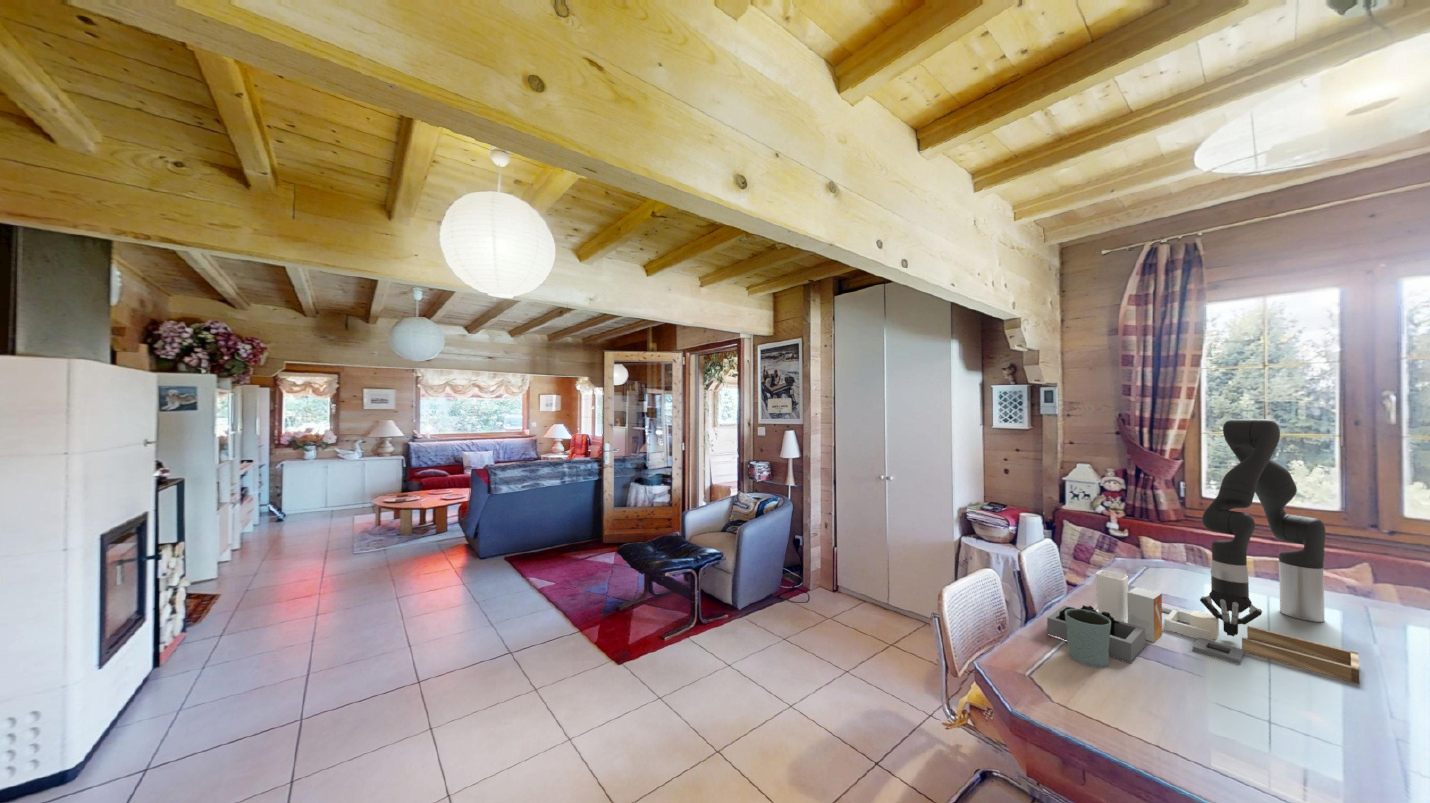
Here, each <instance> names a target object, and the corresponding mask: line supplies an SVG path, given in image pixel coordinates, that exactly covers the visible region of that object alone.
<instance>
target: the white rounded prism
mask: <svg viewBox="0 0 1430 803" xmlns="http://www.w3.org/2000/svg"><path fill="white" fill-rule="evenodd" d="M1128 592H1129V576H1128V575H1127V574H1125V573H1121V572H1116V571H1112V570H1107V569H1099V570H1098V571H1097V572H1095V594H1096V604H1097V610H1098V611H1097V612H1098V613H1102V612H1107V613H1108V612H1109V614H1110V616H1111V617H1113V618H1114V620H1118V621H1121V622H1125V621H1126V618H1127V614H1128V601H1127V593H1128Z"/></svg>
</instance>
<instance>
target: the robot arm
mask: <svg viewBox="0 0 1430 803" xmlns="http://www.w3.org/2000/svg"><path fill="white" fill-rule="evenodd" d="M1222 433H1223V437H1224V440H1225V442H1226V443H1227V445H1228V447H1229V448H1230V450H1231V451H1232V452H1233V454H1234V455H1235V457H1236V459H1237V460H1238V462H1239V463H1238V464H1237V465H1235V466H1234V467H1233V468H1231V469H1230V470H1228V472H1227V473H1226V474H1225V475H1224V476H1223V479H1222V481H1221V484H1220V488H1219V491H1218V494H1217V496H1216V497H1215V498H1214V499H1213V500H1212V502H1211V504H1209V506H1208V507H1207V508H1206V509H1205V511H1204V512H1203V514H1202V517H1201V518H1202V519H1201V521H1202V524H1203V526H1204V528H1206V529H1207V530H1208V531H1211V532H1216V533H1219V534H1220V533H1222V534H1227V535H1233V536H1234V537H1233V538H1232V540H1228V539H1227V540H1224V539H1217V540H1214V541H1212V543H1211V563H1210V577H1211V578H1210V582H1211V583H1210V584H1211V587H1210V589H1211V591H1210V592H1209V594H1208V595H1206V596H1201V598H1199V601H1200V602H1201V604H1202V605H1203V606H1204V607H1206V609H1207V610H1208V611H1209V612H1210V614H1211V615H1214V616H1215V617H1216V618H1219V620H1221V621H1222V624H1223V633H1226V635H1227V636H1230V637H1235V636H1237V635H1238V634H1239V625H1247V624H1249V623H1250V622H1252V621H1253V620H1255V619H1257V618H1258V617H1261V615H1262V614H1263V610H1262V609H1261V608H1257V607H1256V606H1254V604H1252V601H1251V599H1250V595H1249V594H1250V590H1249V588H1250V587H1249V579H1250V578H1249V571H1248V570H1249V569H1248V565H1247V564H1248V562H1247V553H1248V552H1247V551H1248V547H1249V543H1250V540H1251V539H1252V536H1253V533H1254V532H1255V528H1256V522H1255V519H1254V518H1253V517H1252V515H1250V514H1248V513H1247V512H1243V511H1235V510H1234V509H1246V508H1249V507H1251V505H1252V504H1253V501H1254V497H1255V494H1256V496H1257V498H1258V500H1259V503H1260V504H1261V506H1262V509H1263V511H1264V514H1265V517H1266V520H1267V523H1268V526H1269V529H1270V531H1271V533H1272V535H1273V536H1274V537H1275V538H1276V539H1278V540H1280V541H1283V542H1287V543H1291V544H1292V543H1293V544H1298V545H1303V549H1301V550H1296V551H1295V550H1294V551H1293V550H1292V551H1291V550H1290V551H1281V552H1279V554H1278V570H1279V571H1278V573H1279V577H1278V580H1279V612H1280V613H1282V614H1284V615H1286V616H1288V617H1292V618H1295V619H1299V620H1302V621H1303V620H1304V621H1309V622H1314V623H1315V622H1317V623H1321V622H1325V576H1324V572H1325V571H1324V570H1325V569H1324V561H1325V544H1326V528H1325V524H1324V522H1323V521H1322V520H1321V519H1319V518H1316V517H1310V516H1304V515H1295V514H1290V513H1287V512H1286V511H1285V509H1284V508H1285V507H1286V505H1287V504H1289V503H1290V502H1291V501H1292V500H1293V499H1294V498H1295V496H1296V494H1297V492H1298V489H1297V485H1296V482H1295V481H1294V479H1293V477H1292V475H1291V473H1290V472H1289V470H1287V468H1285V467H1284V466H1283V465H1281V464H1280V463H1278V462H1276V461H1274V460H1273V459H1271V458H1272V456H1273V454H1274V452H1275V450H1276V448H1277V447H1278V445H1279V441H1280V438H1281V430H1280V427H1279V425H1278V423H1277V422H1276V421H1275V420H1272V419H1265V418H1250V419H1249V418H1246V419H1245V418H1235V419H1229V420H1227V421H1226V422H1224V424H1223V427H1222ZM1213 603H1214V604H1216V606H1217V607H1218V608H1219V609H1220V610H1221V612H1220V611H1219V610H1218V609H1217V608H1216V607H1215V605H1214V604H1213ZM1247 609H1248V614H1246V615H1245V616H1243V617H1241V618H1240V617H1239V616H1240V614H1241V613H1243V612H1244V611H1246V610H1247ZM1230 612H1231V617H1230ZM1230 618H1231V619H1230Z"/></svg>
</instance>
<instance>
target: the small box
mask: <svg viewBox="0 0 1430 803" xmlns="http://www.w3.org/2000/svg"><path fill="white" fill-rule="evenodd" d="M1162 594H1163V593H1162V592H1159V591H1154V590H1150V589H1146V588H1142V587H1138V586H1135V587H1133V588H1131V589H1130V590H1128V593H1127V601H1128V605H1127V623H1128V624H1132V625H1135V626H1139V627H1142V628H1145V641H1149V642H1151V643H1152V642H1153V643H1155V642H1156V641H1157V640H1158V639H1160V637H1162V636H1163V612H1162V607H1163V603H1162V602H1163V598H1162V597H1163V596H1162Z"/></svg>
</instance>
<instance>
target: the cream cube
mask: <svg viewBox="0 0 1430 803" xmlns="http://www.w3.org/2000/svg"><path fill="white" fill-rule="evenodd" d="M1190 613H1191V614H1190V623H1189V625H1190V626H1194V627H1198V628H1201V629H1205V630H1209V631H1212V640H1217V639H1218V637H1219V636H1220V632H1219V631H1220V623H1219V622H1220V619H1219V618H1216V617H1215V616H1214V615H1213V614H1212V613H1206V612H1203V611H1198V610H1194V609H1193V610H1192V611H1191V612H1190Z"/></svg>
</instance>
